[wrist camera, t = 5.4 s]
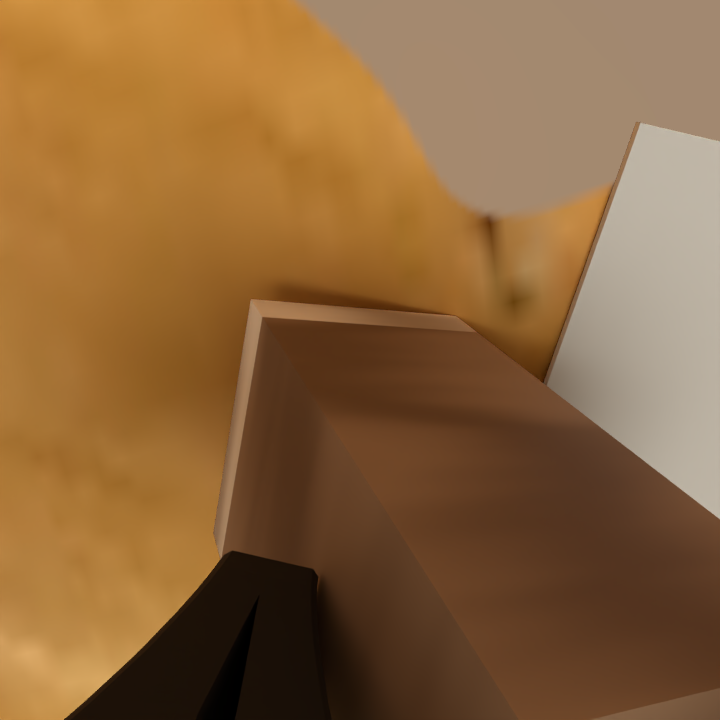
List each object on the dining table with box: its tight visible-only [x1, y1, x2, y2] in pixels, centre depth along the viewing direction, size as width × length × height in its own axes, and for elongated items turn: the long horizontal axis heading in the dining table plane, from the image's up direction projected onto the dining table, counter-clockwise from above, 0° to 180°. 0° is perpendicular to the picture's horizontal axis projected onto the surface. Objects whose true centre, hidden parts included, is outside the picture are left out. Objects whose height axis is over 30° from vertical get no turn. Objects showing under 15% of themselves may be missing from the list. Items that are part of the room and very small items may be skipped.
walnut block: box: [213, 299, 720, 720], centre depth 12 cm, size 5×6×10 cm
